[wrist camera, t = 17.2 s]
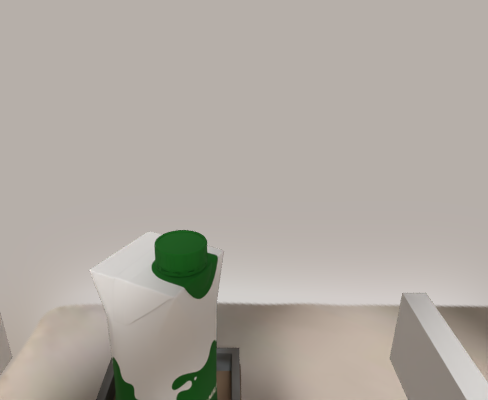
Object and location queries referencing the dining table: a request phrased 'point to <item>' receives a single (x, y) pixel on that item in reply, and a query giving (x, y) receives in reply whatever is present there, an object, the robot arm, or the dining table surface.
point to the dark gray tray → (225, 375)
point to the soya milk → (162, 316)
